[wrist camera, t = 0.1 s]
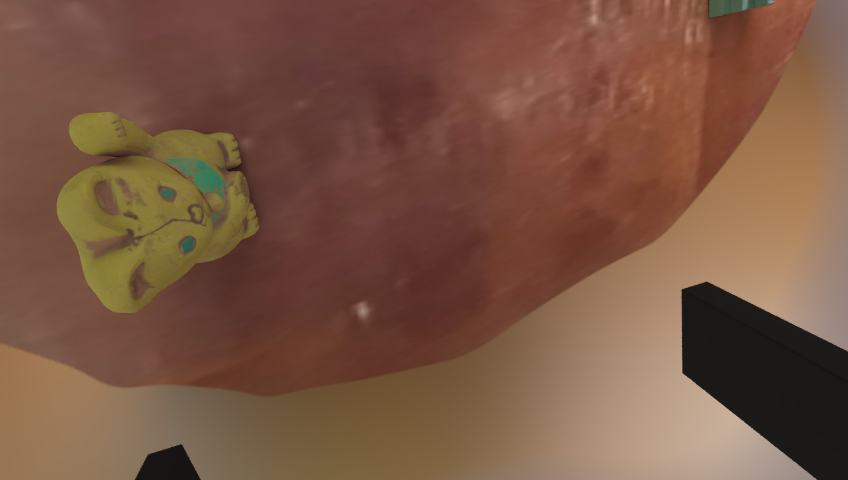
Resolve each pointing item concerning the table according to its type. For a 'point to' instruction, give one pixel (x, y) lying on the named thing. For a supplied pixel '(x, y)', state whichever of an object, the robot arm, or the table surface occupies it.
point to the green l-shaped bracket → (734, 6)
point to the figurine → (151, 206)
